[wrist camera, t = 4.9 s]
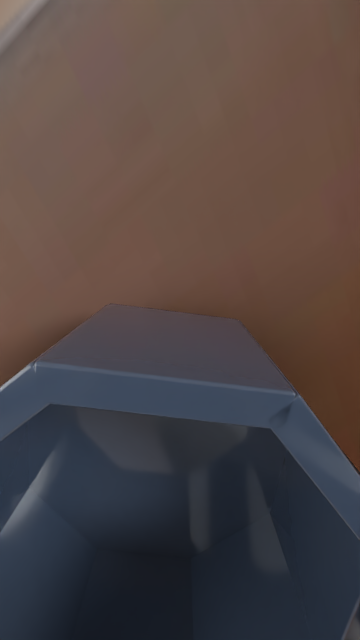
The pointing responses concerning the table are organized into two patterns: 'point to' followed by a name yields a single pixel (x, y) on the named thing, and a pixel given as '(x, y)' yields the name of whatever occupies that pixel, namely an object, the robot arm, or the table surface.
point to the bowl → (171, 491)
